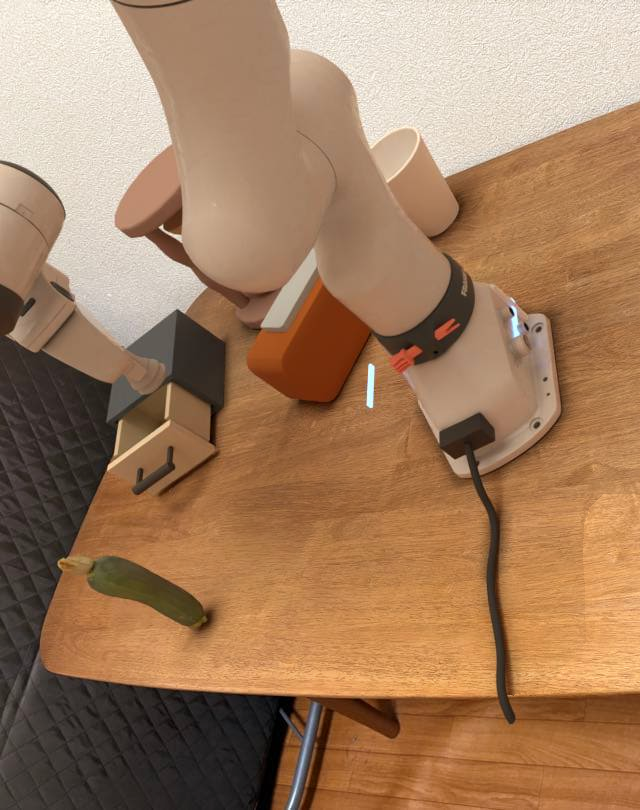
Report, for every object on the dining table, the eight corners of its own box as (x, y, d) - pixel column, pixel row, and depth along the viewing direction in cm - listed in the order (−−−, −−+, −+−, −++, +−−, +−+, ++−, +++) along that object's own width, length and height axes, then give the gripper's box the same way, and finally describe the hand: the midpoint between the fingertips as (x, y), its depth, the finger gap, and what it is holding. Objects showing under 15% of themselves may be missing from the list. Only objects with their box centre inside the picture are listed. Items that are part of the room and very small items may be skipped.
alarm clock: (370, 266, 126) (317, 216, 118) (408, 264, 121) (354, 211, 113) (295, 404, 117) (232, 360, 110) (331, 408, 112) (268, 362, 104)
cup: (446, 252, 117) (388, 191, 108) (394, 248, 125) (337, 192, 116) (486, 186, 120) (433, 122, 112) (434, 187, 128) (381, 127, 120)
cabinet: (223, 407, 128) (171, 373, 121) (159, 453, 131) (105, 422, 124) (224, 342, 139) (177, 308, 132) (166, 386, 142) (116, 355, 135)
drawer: (213, 474, 118) (167, 448, 112) (151, 519, 121) (103, 495, 115) (216, 384, 131) (175, 357, 125) (160, 426, 134) (117, 401, 128)
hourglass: (241, 348, 134) (104, 249, 117) (246, 281, 146) (122, 182, 129) (325, 291, 129) (194, 179, 112) (323, 226, 141) (205, 115, 124)
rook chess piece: (138, 402, 101) (79, 366, 95) (145, 375, 104) (88, 338, 98) (165, 386, 99) (106, 349, 94) (171, 359, 102) (114, 321, 97)
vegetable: (199, 604, 105) (52, 541, 92) (224, 594, 104) (78, 528, 90) (192, 637, 103) (40, 578, 89) (217, 628, 101) (66, 565, 87)
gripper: (-8, 297, 97) (97, 362, 107) (23, 350, 83) (142, 420, 92) (29, 255, 98) (130, 323, 107) (67, 300, 83) (180, 374, 93)
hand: (136, 368), depth 100 cm, fingers closed on rook chess piece, 3 cm apart
